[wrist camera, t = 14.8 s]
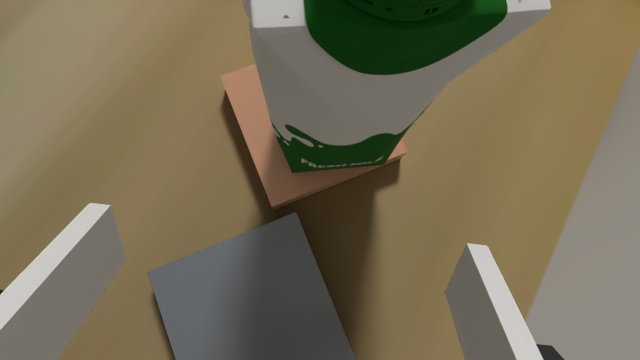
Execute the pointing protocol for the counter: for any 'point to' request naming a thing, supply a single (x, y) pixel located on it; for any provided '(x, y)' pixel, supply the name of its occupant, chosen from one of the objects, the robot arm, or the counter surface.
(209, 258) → the slate tile
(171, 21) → the counter surface
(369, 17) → the soya milk
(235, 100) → the terracotta tile
